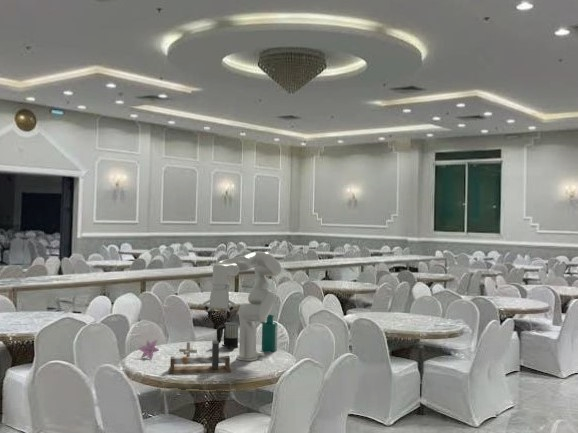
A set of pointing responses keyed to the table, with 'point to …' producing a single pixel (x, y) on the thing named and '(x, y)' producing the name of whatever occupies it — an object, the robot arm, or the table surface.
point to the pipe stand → (198, 369)
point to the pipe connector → (188, 350)
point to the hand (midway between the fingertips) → (218, 318)
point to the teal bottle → (269, 335)
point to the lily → (149, 349)
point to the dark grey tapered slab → (215, 354)
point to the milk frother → (229, 335)
